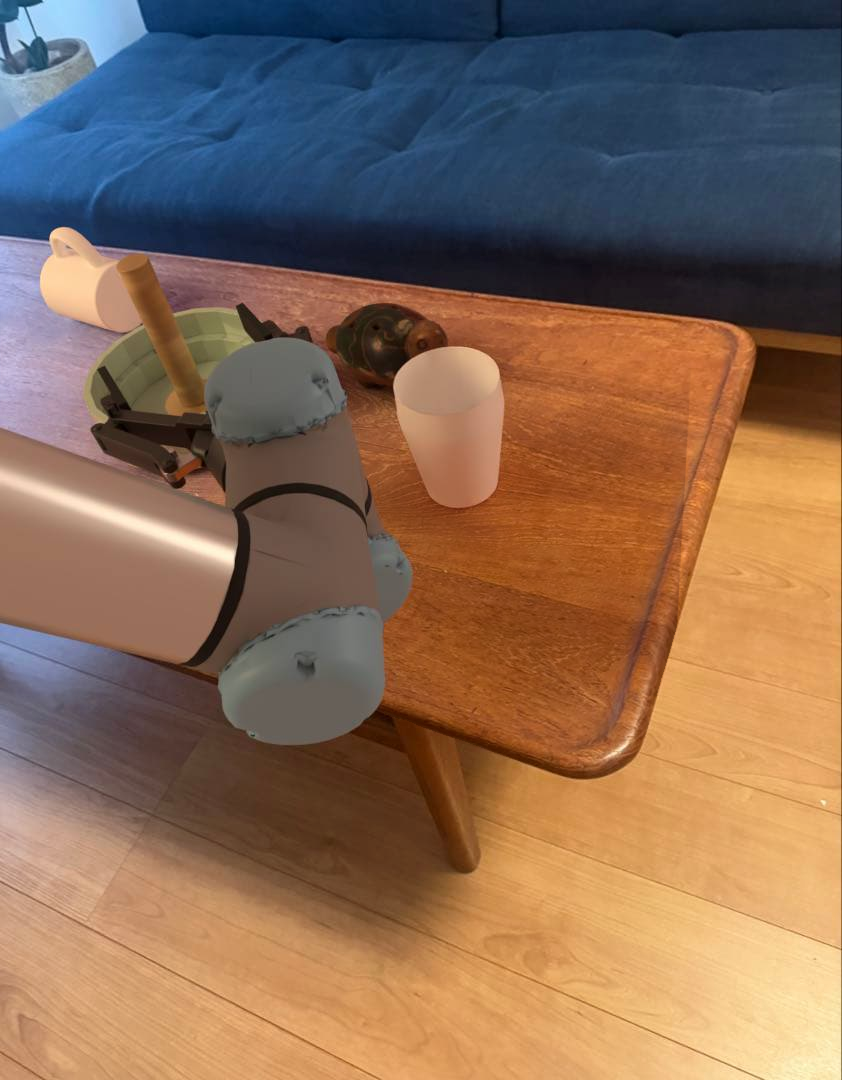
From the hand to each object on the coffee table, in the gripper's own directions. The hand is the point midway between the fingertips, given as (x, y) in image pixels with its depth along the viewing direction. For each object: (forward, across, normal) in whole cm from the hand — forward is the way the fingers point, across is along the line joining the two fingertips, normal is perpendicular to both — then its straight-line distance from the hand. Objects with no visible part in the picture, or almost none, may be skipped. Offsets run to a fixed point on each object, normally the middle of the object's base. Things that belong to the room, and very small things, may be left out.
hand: (176, 347), depth 75 cm
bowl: (+6, 0, -12) cm, 14 cm away
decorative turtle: (-3, +19, -12) cm, 23 cm away
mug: (+32, -2, -12) cm, 35 cm away
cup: (-21, +16, -12) cm, 29 cm away
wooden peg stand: (+6, 0, -11) cm, 13 cm away
